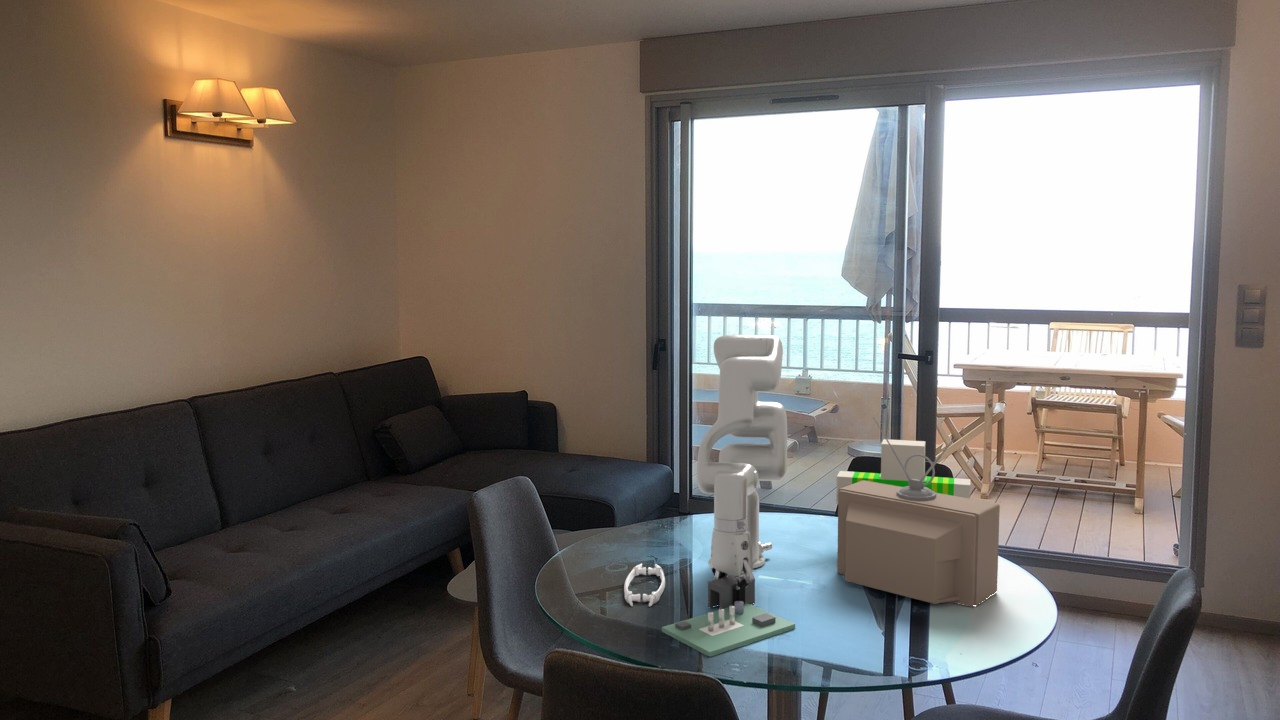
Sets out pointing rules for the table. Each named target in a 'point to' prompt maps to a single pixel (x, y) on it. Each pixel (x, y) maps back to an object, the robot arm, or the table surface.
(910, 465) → the toy
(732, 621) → the pins
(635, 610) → the table surface
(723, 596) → the block
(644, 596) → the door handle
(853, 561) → the television
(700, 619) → the board
